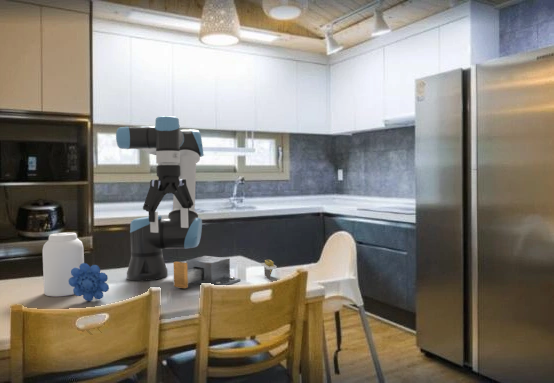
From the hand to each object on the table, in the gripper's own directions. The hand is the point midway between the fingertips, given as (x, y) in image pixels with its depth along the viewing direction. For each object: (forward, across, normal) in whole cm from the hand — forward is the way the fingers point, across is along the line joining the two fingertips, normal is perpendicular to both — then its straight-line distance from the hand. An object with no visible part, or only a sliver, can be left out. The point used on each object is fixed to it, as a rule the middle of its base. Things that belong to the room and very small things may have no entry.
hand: (170, 230), depth 145 cm
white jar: (+21, -16, +34) cm, 43 cm away
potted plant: (+22, +34, -16) cm, 44 cm away
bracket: (+21, +19, +1) cm, 28 cm away
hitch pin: (+20, +12, +1) cm, 24 cm away
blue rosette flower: (+21, -19, +16) cm, 33 cm away
